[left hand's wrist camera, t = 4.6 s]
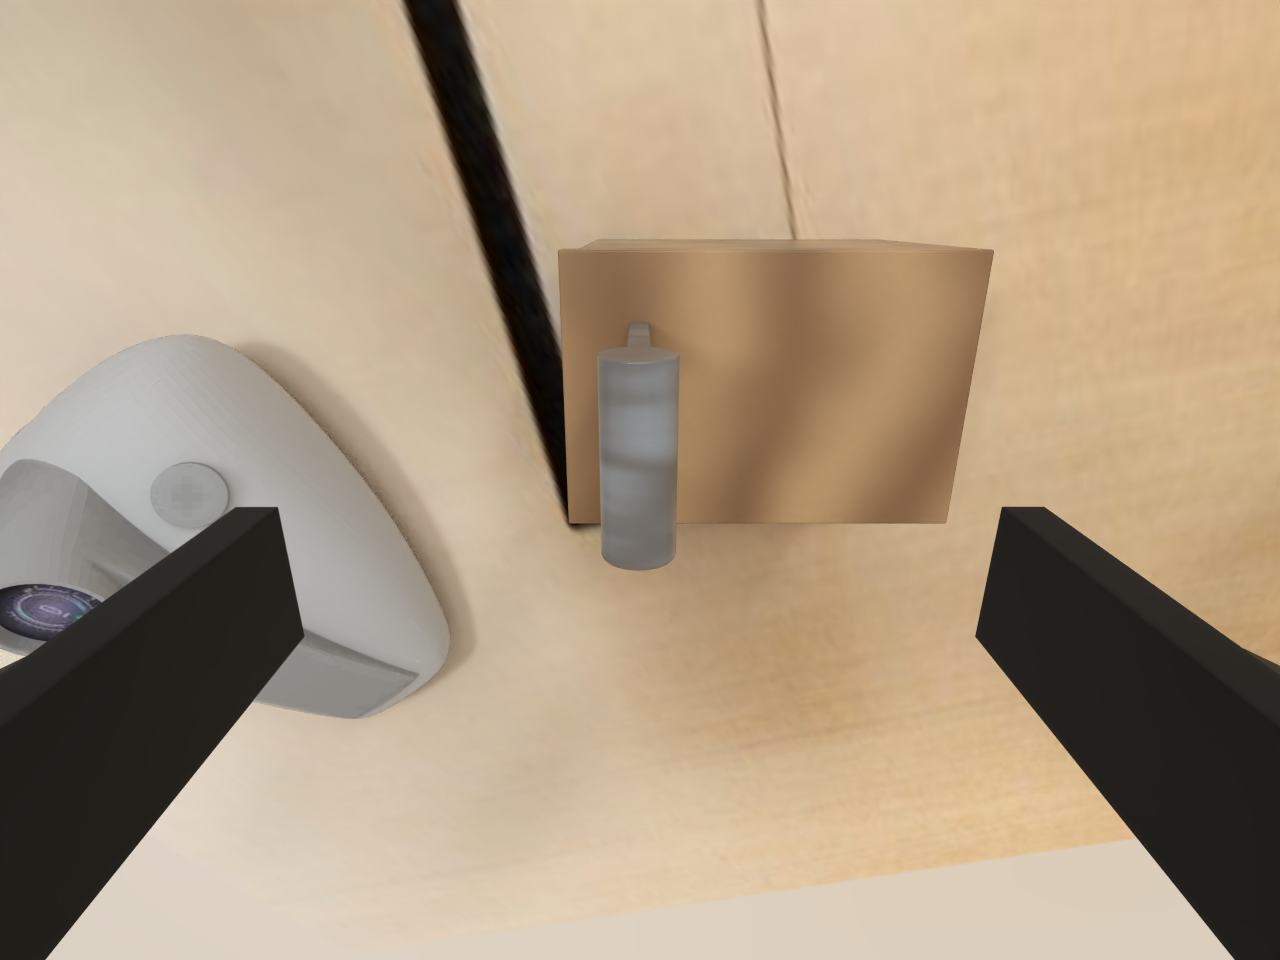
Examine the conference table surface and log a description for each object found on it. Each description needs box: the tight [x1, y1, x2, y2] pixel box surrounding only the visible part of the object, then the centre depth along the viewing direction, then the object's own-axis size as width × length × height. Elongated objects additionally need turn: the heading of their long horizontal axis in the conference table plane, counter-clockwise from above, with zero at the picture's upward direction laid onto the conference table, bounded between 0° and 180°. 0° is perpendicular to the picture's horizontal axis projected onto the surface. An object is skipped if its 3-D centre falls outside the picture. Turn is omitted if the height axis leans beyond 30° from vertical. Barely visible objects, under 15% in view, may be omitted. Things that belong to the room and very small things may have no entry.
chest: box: [580, 240, 977, 249], centre depth 31 cm, size 14×10×11 cm
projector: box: [0, 335, 450, 719], centre depth 33 cm, size 22×23×15 cm
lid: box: [558, 249, 994, 570], centre depth 22 cm, size 15×10×9 cm
